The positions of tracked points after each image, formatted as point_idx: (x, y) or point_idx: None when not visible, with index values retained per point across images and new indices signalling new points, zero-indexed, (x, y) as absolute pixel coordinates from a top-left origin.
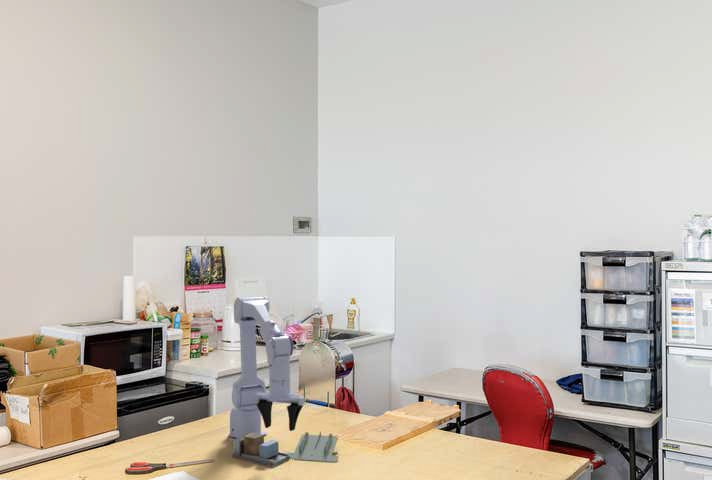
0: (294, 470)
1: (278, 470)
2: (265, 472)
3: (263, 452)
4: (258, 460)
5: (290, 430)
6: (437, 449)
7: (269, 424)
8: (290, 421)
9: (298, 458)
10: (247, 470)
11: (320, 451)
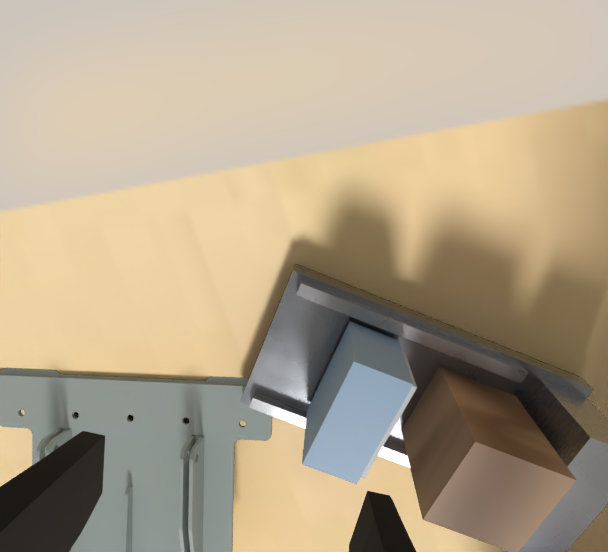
0: (158, 232)
1: (247, 217)
2: (313, 171)
3: (376, 347)
4: (399, 310)
5: (91, 435)
6: None
7: (357, 548)
8: (1, 507)
9: (194, 388)
10: (435, 185)
11: None
